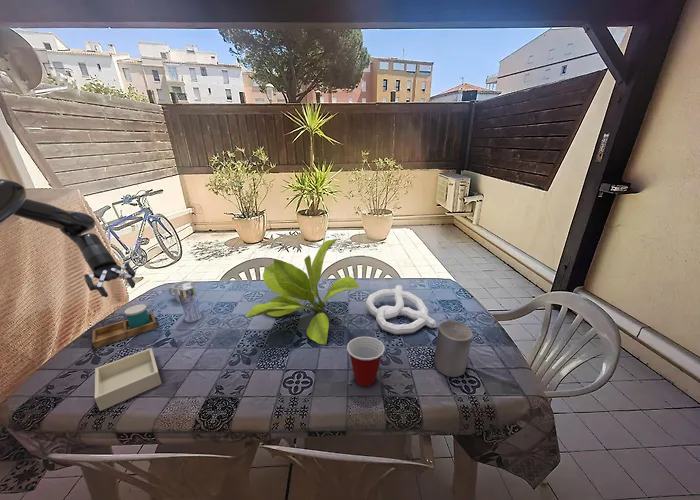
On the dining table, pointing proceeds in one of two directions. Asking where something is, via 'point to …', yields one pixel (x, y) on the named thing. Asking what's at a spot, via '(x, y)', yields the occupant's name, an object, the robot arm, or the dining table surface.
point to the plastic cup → (365, 358)
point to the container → (137, 316)
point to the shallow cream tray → (125, 378)
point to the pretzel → (399, 311)
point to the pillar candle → (452, 348)
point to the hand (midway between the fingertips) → (120, 291)
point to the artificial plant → (301, 291)
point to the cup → (176, 289)
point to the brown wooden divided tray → (119, 332)
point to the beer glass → (189, 301)
